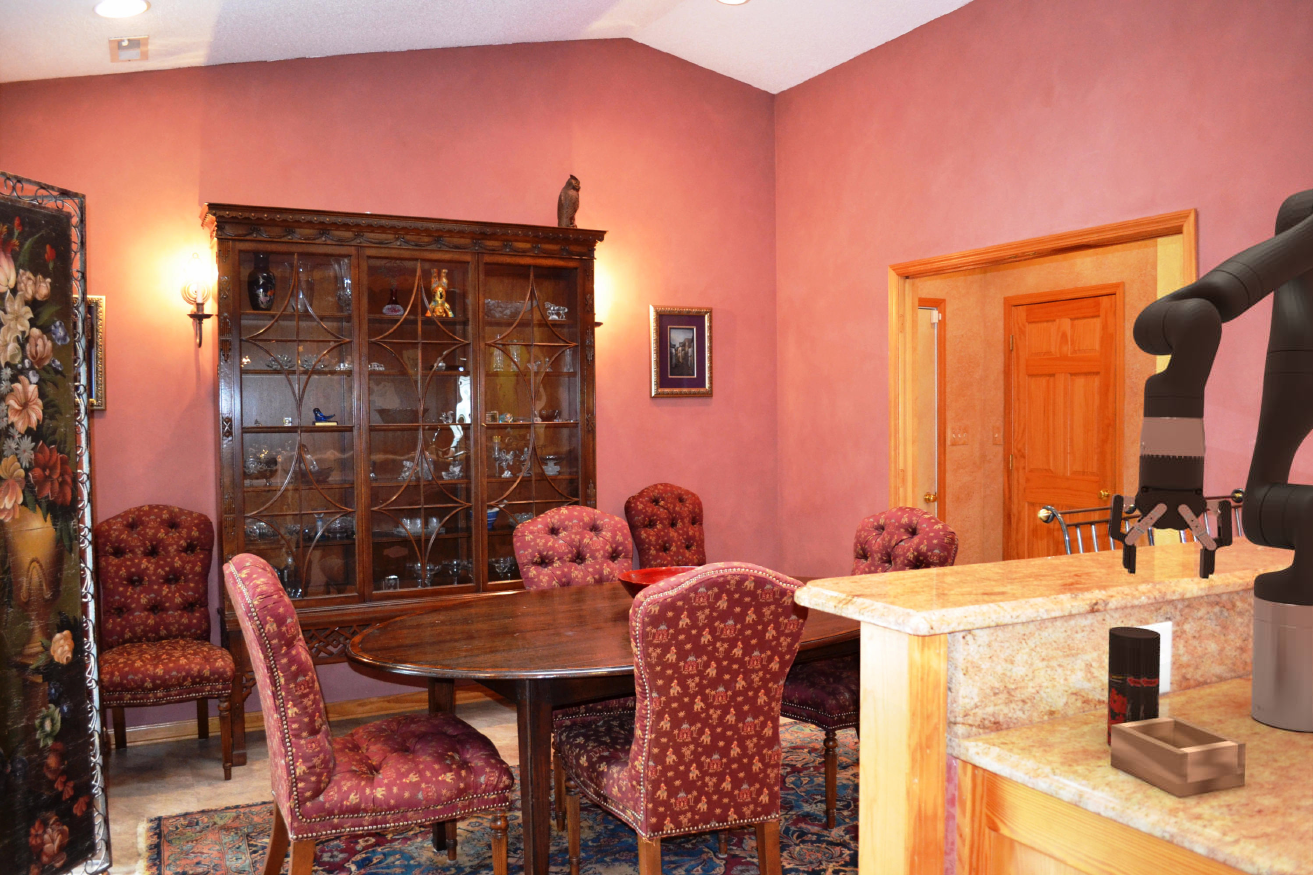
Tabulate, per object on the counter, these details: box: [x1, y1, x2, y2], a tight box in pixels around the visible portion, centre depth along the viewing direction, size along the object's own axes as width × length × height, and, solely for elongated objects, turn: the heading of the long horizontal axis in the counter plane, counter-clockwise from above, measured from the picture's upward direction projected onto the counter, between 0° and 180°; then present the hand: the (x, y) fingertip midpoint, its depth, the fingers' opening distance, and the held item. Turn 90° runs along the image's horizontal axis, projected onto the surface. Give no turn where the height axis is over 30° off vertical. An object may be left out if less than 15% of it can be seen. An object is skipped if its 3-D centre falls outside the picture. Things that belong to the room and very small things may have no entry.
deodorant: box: [1106, 626, 1161, 748], centre depth 123 cm, size 6×6×15 cm
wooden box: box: [1110, 715, 1247, 798], centre depth 113 cm, size 10×10×5 cm
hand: (1167, 575), depth 124 cm, fingers open, 8 cm apart
